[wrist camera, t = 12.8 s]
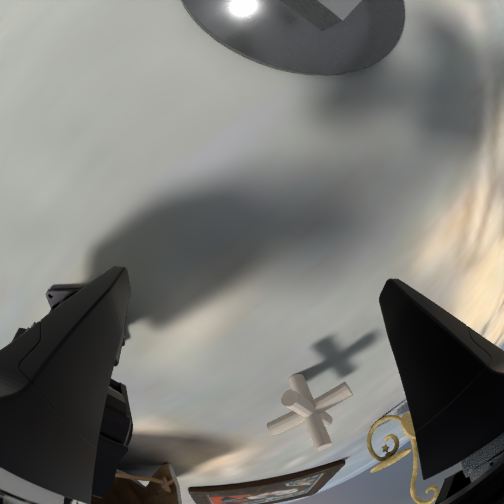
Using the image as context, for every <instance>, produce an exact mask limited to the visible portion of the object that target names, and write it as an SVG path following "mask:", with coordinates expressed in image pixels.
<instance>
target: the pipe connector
mask: <svg viewBox="0 0 504 504" xmlns="http://www.w3.org/2000/svg"><path fill="white" fill-rule="evenodd" d="M289 382H290V384H291V387H292V390H289V391H286V392H285V393H284V394H283V396H282V398H281V402H282V404H283V405H284V406H286V407H287V408H289V409H291V410H293V411H291V412H289V413H287V414H285V415H283V416H281V417H279V418H277V419H275V420H273V421H271V422H269V423H268V424H267V428H268V430H269V432H270V433H271V434H272V435H273V436H274V435H277V434H279V433H282V432H284V431H286V430H288V429H290V428H292V427H295V426H297V425H299V424H301V423H303V422H305V424H306V427H307V429H308V432H309V435H310V437H311V440H312V442H313V445H314V448H315V450H316V451H321V450H324V449H327V448H329V447H330V446H331V445H332V442H331V439H330V437H329V435H328V432H327V430H326V428H325V427H328V426H329V425H331V423H332V417H331V416H330V415H329V414H328V413H326V412H325V411H326V410H327V409H329V408H331V407H333V406H335V405H336V404H338V403H340V402H341V401H343V400H345V399H346V398H348V397H350V396H351V395H353V394H352V392H351V390H350V388H349V386H348V385H347V383H346V382H343V383H341V384H340V385H338V386H337V387H335V388H333V389H332V390H330V391H328V392H326V393H325V394H323V395H321V396H319V397H318V398H316V399H313V397H312V395H311V392H310V390H309V388H308V385H307V383H306V381H305V378H304V376H303V374H300V373H298V374H294V375H293V376H291V377H290V378H289Z"/></svg>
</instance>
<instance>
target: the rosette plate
mask: <svg viewBox="0 0 504 504" xmlns="http://www.w3.org/2000/svg"><path fill="white" fill-rule="evenodd" d="M181 1H182V3H183V5H184V7H185V9H186V10H187V12H188V13H189V14H190V16H191V17H192V19H193V20H194V21H195V22H196V23H197V24H198V25H199V26H200V27H201V28H202V29H203V30H204V31H205V32H206V33H208V34H209V35H210V36H211V37H212V38H214V39H215V40H216V41H218V42H219V43H221V44H222V45H224V46H225V47H227V48H228V49H230V50H232V51H234V52H236V53H238V54H239V55H241V56H243V57H245V58H248V59H250V60H252V61H255V62H257V63H259V64H262V65H265V66H268V67H272V68H275V69H278V70H282V71H287V72H291V73H297V74H305V75H336V74H342V73H347V72H352V71H357V70H360V69H363V68H366V67H369V66H371V65H373V64H375V63H376V62H378V61H380V60H381V59H382V58H384V57H385V56H386V55H387V54H388V53H389V52H390V51H391V50H392V49H393V48H394V46H395V45H396V43H397V41H398V40H399V38H400V35H401V32H402V30H403V24H404V3H403V0H181Z"/></svg>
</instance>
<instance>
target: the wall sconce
mask: <svg viewBox="0 0 504 504" xmlns="http://www.w3.org/2000/svg"><path fill="white" fill-rule="evenodd" d="M388 419H394V420H397V421H399V422H400V423H401V426H402V429H403V430H404V434H406V435H408V436H409V437H410V440H411V443H412V448H413V455H414V465H413V474H412V480H411V496H412V498H413V499H414V501H415V502H416V503H418V504H430V503H432V502H433V501H435V499H436V498H437V497H438V494H439V489H438V487H437V486H434V485H432V486H429V487H428V488H427V490H426V493H429V490H430V489H433V490H434V491H435V494H434V497H433V498H432V499H430V500H428V501H423V500H420V499H419V498H418V497H417V496H416V493H415V483H416V477H417V470H418V450H417V444H416V441H415V439H416V438H415V432H414V428H413V423H412V419H411V415H410V413H406V414H404V415H403V416H402V418H401V417H399V416H396V415H388V416H385V417H382V418H381V419H379V420H378V421H377V422H376V423H375V424H374V425H373V426H372V428H371V429H370V431H369V434H368V437H367V447H368V450H369V452H370V454H371V455H372V457H373V458H375V459H376V460H378V461H383V462H381V463H379V464H378V465H376V466H375V467H374V468H373V469H372V470H371V472H376V471H378V470H381V469H383V468H385V467H387V466H389V465H391V464H393V463H394V462H396V461H398V460H399V459H401V458H402V457H404V456H405V455H406V454H408V453H409V452H410V451H411V449H405V450H403V451H401V452H399V453H397V454H395V452H396V451H397V449H398V447H399V440H398V438H397V436H395V435H394V434H390V435H388V436H386V437H385V439H384V441H387V440H388V439H389V438H392V439H393V440H394V442H395V446H394V449H393V450H392V451H391V452H388V448H389V447H387V445H386V444H385V446H383V447H382V448H383V452H384V451H386V452H387V453H386V455H385V457H379V456H378V455H376V454H375V452H374V450H373V448H372V445H371V437H372V434H373V432H374V430H375V428H376V427H377V426H378V425H379V424H380V423H381V422H383V421H385V420H388ZM394 454H395V455H394ZM392 455H393V456H392Z"/></svg>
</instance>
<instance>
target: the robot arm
mask: <svg viewBox="0 0 504 504" xmlns="http://www.w3.org/2000/svg"><path fill="white" fill-rule="evenodd" d="M50 294H51V295H52V296H51V295H50ZM46 297H47V299H48V302H49V304H50V307H51V310H50V312H49V314H48V315H46V316H45V317H44V318H42V319H41V322H40V321H39V322H37V323H35V322H34V323H33V325H32V326H31V328H29V327H28V329H24V328H19V329H18V331H17V333H16V335H15V337H14V339H13V340H12V342H11V343H10V344H8V345H7V346H6V347H4V348H3V349H1V350H0V504H72V502H73V500H76V501H79V502H83V503H86V504H90V503H91V495H93V496H96V497H99V498H104V497H105V496H106V495H107V494H108V493H109V492H110V491H111V490H112V486H113V482H114V478H115V474H116V471H117V468H118V466H119V464H120V461H121V459H122V458H123V456H124V455H125V454H126V452H127V451H128V447H127V446H128V444H129V442H130V439H131V436H132V431H133V422H132V417H131V412H130V407H129V401H128V396H127V390H126V386H125V385H124V384H122V383H118V382H116V381H115V380H113V379H111V375H112V371H113V367H114V366H117V365H118V364H119V358H120V353H121V348H122V346H124V345H125V338H124V333H125V331H124V324H125V318H126V313H127V307H128V302H129V297H130V283H129V277H128V272H127V269H126V267H122V266H114V267H112V268H111V269H109V270H108V271H106V272H105V273H103V274H102V275H100V276H99V277H98V278H96V279H95V280H93V281H92V282H91V283H89V284H88V285H86V286H85V287H84V288H66V289H49V290H48V291H47V293H46ZM379 303H380V307H381V311H382V315H383V319H384V323H385V327H386V331H387V335H388V339H389V342H390V345H391V348H392V351H393V354H394V357H395V360H396V364H397V367H398V370H399V374H400V377H401V381H402V384H403V388H404V391H405V395H406V399H407V403H408V407H409V411H410V415H411V419H412V423H413V428H414V432H415V438H416V443H417V448H418V453H419V458H420V463H421V470H422V476H423V480H425V479H427V478H430V477H432V476H434V475H436V474H438V473H440V472H442V471H444V470H446V469H448V468H450V467H452V466H453V465H455V464H457V463H459V462H460V464H461V467H462V469H461V470H459V471H458V472H456V473H454V474H453V475H451V476H449V477H447V478H446V479H445V481H444V483H443V486H442V488H441V491H440V493H439V495H438V497H437V500H436V502H435V504H504V351H503V350H502V349H500V348H499V347H497V346H496V345H494V344H493V343H491V342H490V341H488V340H487V339H485V338H484V337H482V336H481V335H480V334H478V333H477V332H475V331H474V330H472V329H471V328H470V327H468V326H466V324H464V323H463V322H461V321H460V320H458V319H457V318H456V317H454V316H453V315H451V314H450V313H449V312H447V311H446V310H444V309H443V308H441V307H440V306H438V305H437V304H435V303H434V302H432V301H431V300H429V299H428V298H427V297H425V296H424V295H422V294H421V293H419V292H417V291H416V290H414V289H413V288H411V287H410V286H408V285H407V284H405V283H404V282H402V281H401V280H399V279H388V280H387V281H386V283H385V285H384V288H383V290H382V292H381V294H380V297H379Z"/></svg>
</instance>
